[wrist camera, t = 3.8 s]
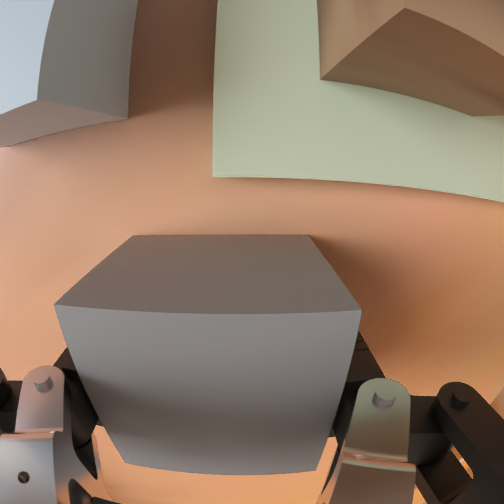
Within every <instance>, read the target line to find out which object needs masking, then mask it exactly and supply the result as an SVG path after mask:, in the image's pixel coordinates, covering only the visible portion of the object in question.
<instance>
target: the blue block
mask: <svg viewBox="0 0 504 504" xmlns="http://www.w3.org/2000/svg"><path fill="white" fill-rule="evenodd" d="M137 5H138V0H0V147H9V146H12V145H15V144H18V143H22V142H25V141H28V140H32V139H35V138H39V137H42V136H46V135H50V134H54V133H58V132H62V131H67V130H71V129H76V128H80V127H85V126H90V125H95V124H101V123H107V122H113V121H119V120H126V119H128V100H129V79H130V65H131V53H132V43H133V34H134V26H135V19H136V12H137Z"/></svg>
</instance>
